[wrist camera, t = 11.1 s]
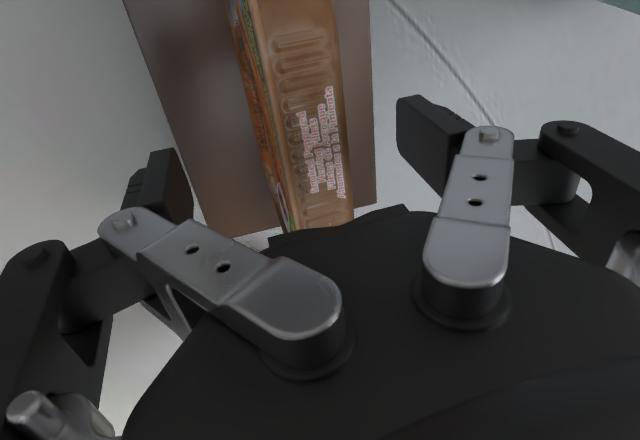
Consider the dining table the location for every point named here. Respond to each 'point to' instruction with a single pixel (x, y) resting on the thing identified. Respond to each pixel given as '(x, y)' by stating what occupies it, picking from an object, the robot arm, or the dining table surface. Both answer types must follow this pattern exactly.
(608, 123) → the dining table surface
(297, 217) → the tin
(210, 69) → the stand
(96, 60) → the dining table surface
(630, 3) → the disposable coffee cup
